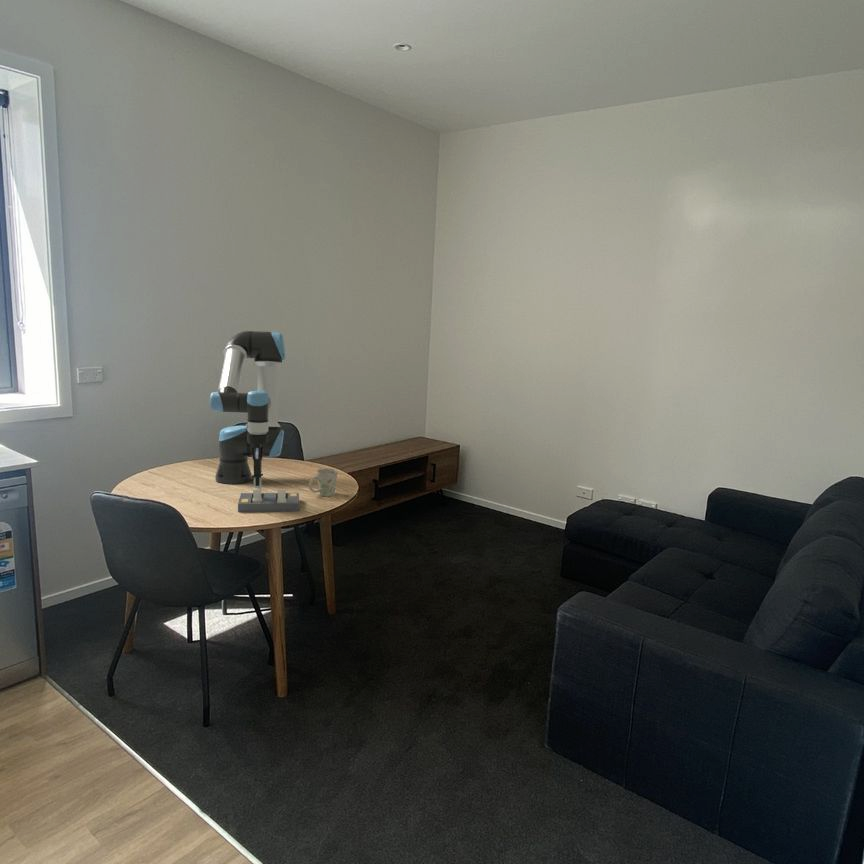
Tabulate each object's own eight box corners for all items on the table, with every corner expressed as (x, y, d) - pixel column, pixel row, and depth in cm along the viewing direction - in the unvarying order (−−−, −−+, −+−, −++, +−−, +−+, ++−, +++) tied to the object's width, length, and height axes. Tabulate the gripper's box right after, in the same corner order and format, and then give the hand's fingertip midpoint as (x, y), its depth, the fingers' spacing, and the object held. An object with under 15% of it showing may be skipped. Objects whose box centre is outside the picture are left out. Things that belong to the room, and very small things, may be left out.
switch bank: (241, 500, 239) (241, 492, 238) (298, 499, 243) (299, 492, 243) (237, 511, 225) (237, 503, 225) (299, 510, 230) (299, 502, 229)
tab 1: (253, 501, 234) (253, 487, 233) (261, 500, 235) (261, 487, 234) (252, 504, 230) (252, 490, 229) (261, 504, 231) (261, 490, 230)
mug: (341, 495, 253) (341, 471, 251) (314, 500, 244) (315, 476, 242) (329, 490, 259) (330, 467, 257) (303, 495, 250) (304, 471, 248)
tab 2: (277, 502, 233) (277, 489, 232) (285, 502, 234) (286, 488, 233) (277, 506, 229) (277, 491, 228) (285, 506, 230) (286, 491, 229)
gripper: (248, 429, 235) (248, 488, 239) (246, 435, 222) (246, 498, 227) (268, 429, 237) (268, 488, 241) (267, 435, 224) (267, 498, 228)
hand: (257, 493), depth 234 cm, fingers closed
